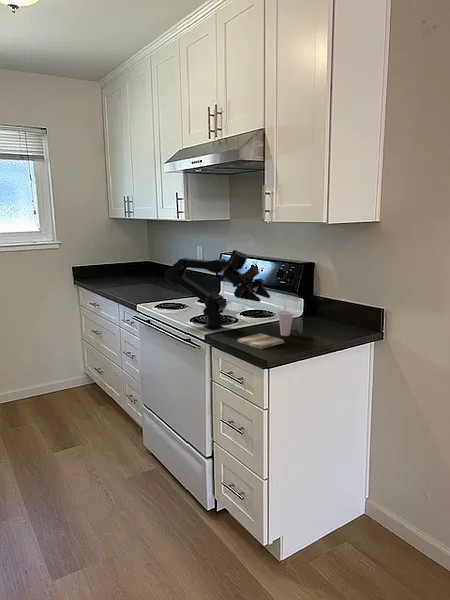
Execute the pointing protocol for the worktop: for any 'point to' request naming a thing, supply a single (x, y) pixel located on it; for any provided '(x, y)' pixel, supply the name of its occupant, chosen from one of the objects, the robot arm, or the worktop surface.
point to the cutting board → (260, 341)
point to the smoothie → (285, 321)
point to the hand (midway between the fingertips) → (265, 299)
